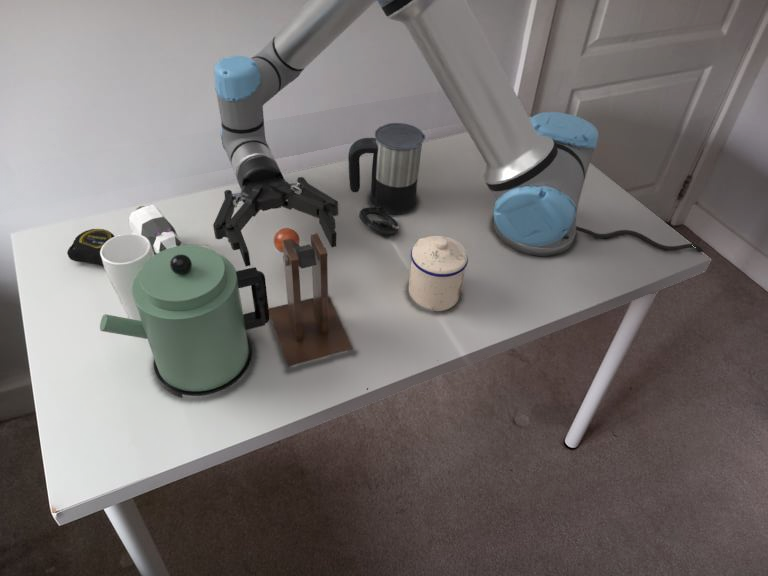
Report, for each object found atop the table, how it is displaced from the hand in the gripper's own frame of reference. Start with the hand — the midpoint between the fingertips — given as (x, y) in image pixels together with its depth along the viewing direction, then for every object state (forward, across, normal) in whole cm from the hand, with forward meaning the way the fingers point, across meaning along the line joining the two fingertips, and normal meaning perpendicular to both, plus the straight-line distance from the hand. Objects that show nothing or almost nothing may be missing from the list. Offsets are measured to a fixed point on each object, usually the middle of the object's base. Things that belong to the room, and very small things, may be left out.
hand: (291, 249), depth 91 cm
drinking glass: (-3, +23, -11) cm, 25 cm away
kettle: (+8, +16, -11) cm, 21 cm away
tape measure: (-20, +29, -11) cm, 37 cm away
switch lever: (+3, 0, +1) cm, 3 cm away
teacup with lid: (+5, -22, -11) cm, 25 cm away
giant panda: (-16, +19, -11) cm, 27 cm away
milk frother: (-16, -24, -11) cm, 31 cm away
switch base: (+8, 0, -11) cm, 13 cm away
